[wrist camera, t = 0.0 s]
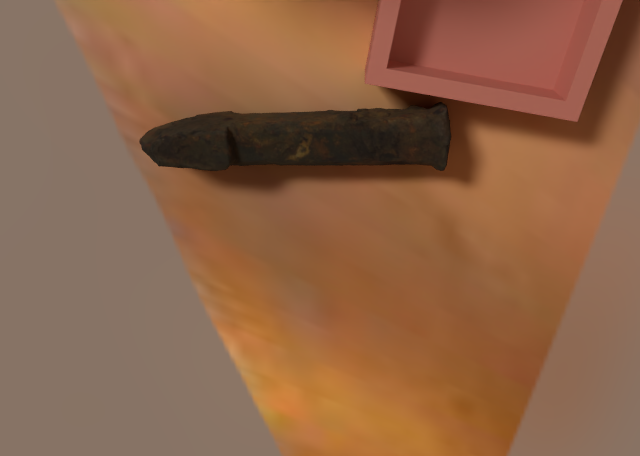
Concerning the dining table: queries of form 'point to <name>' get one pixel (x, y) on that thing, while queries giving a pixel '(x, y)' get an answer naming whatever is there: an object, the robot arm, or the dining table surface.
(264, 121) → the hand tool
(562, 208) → the dining table surface
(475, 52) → the pink tray
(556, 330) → the dining table surface
